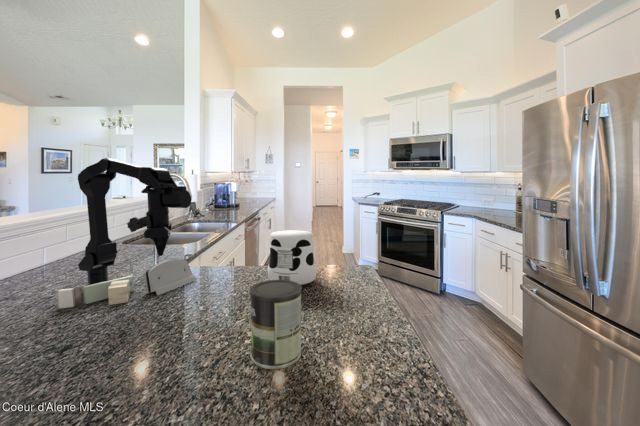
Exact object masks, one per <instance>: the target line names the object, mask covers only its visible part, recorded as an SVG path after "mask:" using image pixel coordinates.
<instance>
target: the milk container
mask: <svg viewBox="0 0 640 426" xmlns="http://www.w3.org/2000/svg"><path fill="white" fill-rule="evenodd" d="M269 235H270V236H269V255H270V256H269V262H268V266H267V276H268V281H269V280H289V281H293V282H296V283H298V284H300V285H301V287H304V286H307V285H310V284H311V283H313V282H314V281H315V280H316V276H317V265H316V261H315V254H314V253H315V238H314V233H313V232H311V231H308V230H294V229H292V230H289V229H288V230H280V231H273V232H271V233H270V234H269Z"/></svg>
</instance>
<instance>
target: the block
mask: <svg viewBox="0 0 640 426" xmlns="http://www.w3.org/2000/svg"><path fill="white" fill-rule="evenodd" d="M130 295H131V292H130V285H129V280H121V281H113V282H111V284H110V286H109V288H108V296H109V298H108V305H109V306H111V305H117V304H118V305H119V304H124V303H128V302H129V299H130Z"/></svg>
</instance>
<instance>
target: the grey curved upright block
mask: <svg viewBox="0 0 640 426" xmlns="http://www.w3.org/2000/svg"><path fill="white" fill-rule="evenodd" d="M143 278H144V285H145V291H146V294H150V293H151V294H152V293H154V292H155V293H156V296H159V295H163V294H166V293H168V292H170V290H171V291H173V290H176V289H178V287H179V288H181V287H184V286H186V285H185V284H187V283H189V284H191V283H190V282H192V281H194V282H196V281H195V280H197V277H196V276H195V275H194V274H193V271H192V270H191V268H190V265H189V262H188V261H187V260H186V259H170V260H165V261H162V262H159V263H157V264H155V265H153V266H151V267H150V268H148V269H147V270H146V271H145V272H144V273H143ZM192 283H193V282H192ZM183 285H184V286H183ZM187 285H188V284H187Z"/></svg>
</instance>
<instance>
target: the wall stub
mask: <svg viewBox="0 0 640 426" xmlns="http://www.w3.org/2000/svg"><path fill="white" fill-rule="evenodd" d="M57 297H58V308H59V310H60V309H66V308H74V307H76V306H75V297H74V287H71V288H62V289H59V290H58V291H57Z"/></svg>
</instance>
